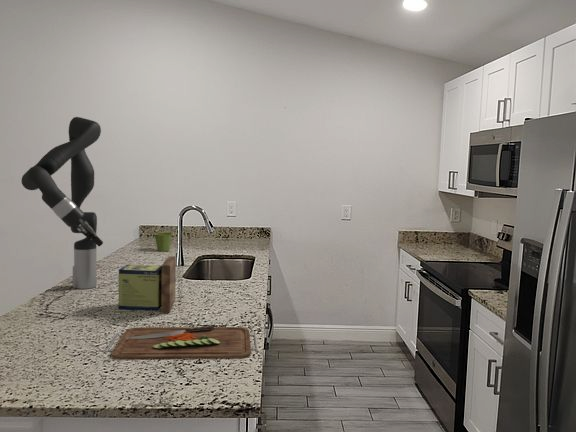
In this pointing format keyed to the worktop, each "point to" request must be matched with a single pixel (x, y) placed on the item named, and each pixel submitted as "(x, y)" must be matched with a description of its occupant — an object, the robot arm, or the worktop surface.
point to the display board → (168, 284)
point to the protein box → (140, 287)
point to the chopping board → (183, 343)
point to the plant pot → (163, 241)
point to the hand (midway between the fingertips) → (101, 244)
